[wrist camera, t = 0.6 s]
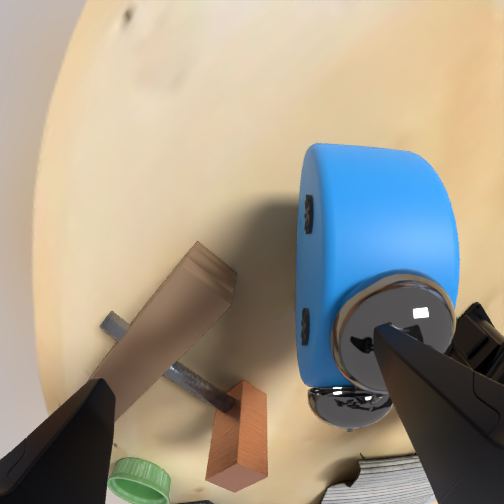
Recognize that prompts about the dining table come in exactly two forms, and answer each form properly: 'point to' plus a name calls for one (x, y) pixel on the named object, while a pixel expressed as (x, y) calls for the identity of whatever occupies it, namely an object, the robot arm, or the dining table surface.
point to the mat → (383, 483)
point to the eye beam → (168, 325)
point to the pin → (223, 422)
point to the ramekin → (140, 482)
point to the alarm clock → (369, 272)
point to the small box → (200, 503)
